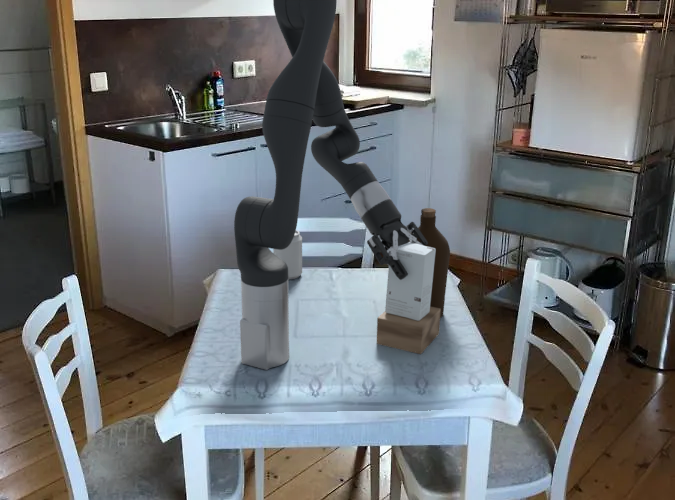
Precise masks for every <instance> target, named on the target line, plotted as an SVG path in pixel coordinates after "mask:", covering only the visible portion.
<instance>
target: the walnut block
mask: <svg viewBox="0 0 675 500" xmlns="http://www.w3.org/2000/svg"><path fill="white" fill-rule="evenodd" d="M440 312H441V309H440V308H436V307H431V306H430V312H429V313H428V314H427V315H426V316H424V317H423V318H422V319H421V320H419V321H417V320H413V319H410V318H406V317H402V316H397V315H393V314H388V313H386V311H385V310H384V311H383V312H382V313H381V314H380V315H379V316H378V317H377V320H376V324H377V325H376V344H377V345H380V346H385V347H389V348H392V349H397V350H402V351H405V352H410V353H413V354H418V355H422V353H424V352H425V350H427V348H428V347H429V346H430V345H431V344H432V343H433V341H434V340H435V339H436V338H437V337H438V336H439V335H440V325H441V318H440Z"/></svg>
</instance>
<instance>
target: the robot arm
mask: <svg viewBox="0 0 675 500" xmlns="http://www.w3.org/2000/svg"><path fill="white" fill-rule="evenodd" d="M337 2H338V1H337V0H273V3H272V4H273V11H274V15H275V19H276V21H277V24H278V26H279V27H278V28H279V29H280V32H281V34H282V36H283V38H284V41H285V43H286V45H287V46H286V47H287V48H288V51H289V53H290V55H291V59H290V61H289V62H288V64H286V66H285V67H284V68H283V70H281V72H280V73H279V74H278V75H277V77H276V78H275V80H274V82H273V83H272V85H271V86H270V88H269V89H268V93H267V96H266V101H265V105H264V112H263V117H262V123H261V125H262V126H261V127H262V134H263V137H264V140H265V143H266V144H265V145H266V147H267V149H268V151H269V154H270V157H271V160H272V163H273V165H274V170H275V190H274V197H273V198H269V197H268V198H267V197H259V196H254V195H251V196H246V197H244V198H243V199H242V200H240V202H239V204H238V205H237V207H236V210H235V213H234V220H233V221H234V222H233V223H234V224H233V225H234V226H233V231H234V242H235V250H236V251H235V253H236V264H237V267H238V270H239V273H240V287H241V288H240V289H241V290H240V294H241V319H240V320H239V328H240V329H239V332H240V358H241V359H240V361H241V364H243V365H247V366H251V367H255V368H258V369H261V370H265V371H268V370H269V369H271V368H274V367H275V368H276V367H278V366H282V365H284V364H285V363H287V362H288V361H289V360H290V325H289V324H290V317H289V316H290V315H289V314H290V313H289V312H290V311H289V310H290V309H289V307H290V305H289V303H290V302H289V279H288V266H287V264H286V263H285V262H284V261H283V260H282V259H280V258H279V257H277V256H276V255H275V254H274V253H273V251H272V250H273V249H278V250H282V249H285V248H287V247H288V246H289V245H290V244H291V242H292V240H293V238H294V235H295V231H296V230H297V226H298V221H299V220H298V219H299V211H300V202H301V201H300V199H301V190H302V180H303V179H302V178H303V171H304V166H305V165H304V164H305V159H306V153H307V148H308V142H309V137H310V134H311V129H312V124H314V125H315V126H318V127H320V128H329V127H335V128H333V129H331V130H329V131H326V132H325V133H322V134H320V135H318V136H316V137H315V138H313V139H312V141H311V144H310V150H311V155H312V157H313V159H314V160H315V161H316V163H317V164H318V165H319V166H320V167H321V168H322V169H324V170H325V171H326V173H328V174H330V176H331V177H332V178H334V180H336V181H337V182H338V184H340V186H341V187H342V188H343V190H344V191H345V193H346V195H347V196H348V198H349V199H350V201H351V203H352V205H353V207H354V210H355V211H356V213H357V214H358V215H359V217H360V219H361V221H362V223H363V224H364V225H365V227H366V229H367V230H368V231H369V234H370V235H371V237H370V238H369V239H368V240H366V243H367V245H368V247H369V248H370V251H371V252H372V254H373V255H374V257H375V258H376V260H377V262H378V264H379V265H380V266H384V265H387V266H388V267H389V266H390V267H391V268H392V270H393V272H394V273H395V275H396V276H397V277H398V278H399V279H400V280H402V279H404V278H405V277H406V276H407V275H408V273H407V271H406V270H405V268H404V266H403V265H402V263H401V262H400V260H397V250H398V246H400V245H403V244H407V243H408V241H409V240H410V242H409V243H415V244H420V245H423V246H426V245H427V244H428V242H427V240H426V239H425V237H424V236H423V235H422V233H421V232H420V230H419V229H418V227H419V226H417V224H416V223H415V222H414V221H410V222H409V223H408V224H407V225H404V223H402V214H401V212H400V211H399V209H398V207H397V206H396V204H395V203H394V201H393V200H392V199H391V197H390V196H389V194H388V192H387V190H386V189H385V188H384V187H383V186H382V185H381V183H380V182H379V181H378V179H377V178H376V176H375V174H374V173H373V171H372V170H371V168H370V167H369V166H368V164H367V163H366V162H364V161H358V162H353V163H352V162H351V163H345V162H344V161H345V160H348V159H349V158H351V157H353V156H355V155H357V153H358V152H359V150H360V147H361V146H360V145H361V141H360V137H359V135H358V133H357V132H356V130H355V128H354V125H352V123H351V121H350V119H349V117H348V114H347V112H346V110H345V106H344V102H343V97H342V93H341V88H340V84H339V81H338V79H337V77H336V76H335V74H334V73H333V71H332V70H331V68H330V67H329V66H328V64H327V63H326V62H325V60H324V59H325V55H326V51H327V49H328V45H329V40H330V38H331V35H332V31H333V27H334V23H335V19H336V13H337V5H338V4H337ZM417 238H419V239H420V241H421V243H420V242H419V241H418V240H417ZM408 239H409V240H408ZM390 247H391V248H390ZM271 249H272V250H271Z"/></svg>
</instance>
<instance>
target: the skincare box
mask: <svg viewBox="0 0 675 500" xmlns="http://www.w3.org/2000/svg"><path fill="white" fill-rule="evenodd" d="M390 248H391V247H390ZM435 252H436V249H435V248H431V247H427V246H423V245H420V244H415V243H409V242H408V243H407V244H403V245H400V246H398V250H397V260H400V262H401V263H402V265H403V266H404V268H405V270H406V271H407V273H408V275H407V276H406V277H405V278H404V279H402V280H400V279H399V278H398V277H397V276H396V275H395V273H394V272H393V270H392V268H391V267H390V266H389V265H388V270H387V271H388V273H387V282H386V283H387V284H386V297H385V307H384V308H385V310H384V312H385V311H386V313H388V314H393V315H397V316H402V317H406V318H410V319H413V320H417V321H419V320H421V319H422V318H423V317H424V316H426V315H427V314H428V313H429V312H430V302H431V292H432V282H433V272H434V262H435Z"/></svg>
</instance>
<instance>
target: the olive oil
mask: <svg viewBox="0 0 675 500" xmlns="http://www.w3.org/2000/svg"><path fill="white" fill-rule="evenodd" d="M420 212H421V215H420V218H419V220H420V225H419V226H417V227H418V229H419V230H420V232H421V233H422V235H423V236H424V237H425V239H426V240H427V242H428V244H427V245H426V246H427V247H431V248H435V249H436V252H435V262H434V272H433V282H432V292H431V302H430V306H431V307H436V308H440V309H441V312H440V319H441V318H442V317H443V316H444V313H445V310H444V309H445V300H446V290H447V282H448V272H449V265H450V257H451V249H450V244H449V241H448V240H447V238H446V237H445V235H443V233H442V232H441V231H440V230H439V229H438V228H437V226H436V222H437V221H436V219H437V216H436V214H437V210H436V209H434V208H431V207H430V208H429V207H426V208H425V207H424V208H422V209H421V211H420ZM408 240H409V239H408ZM417 240H418V241H419V242H420V243H421V241H420V239H419V238H417ZM408 242H410V240H409V241H408Z"/></svg>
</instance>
